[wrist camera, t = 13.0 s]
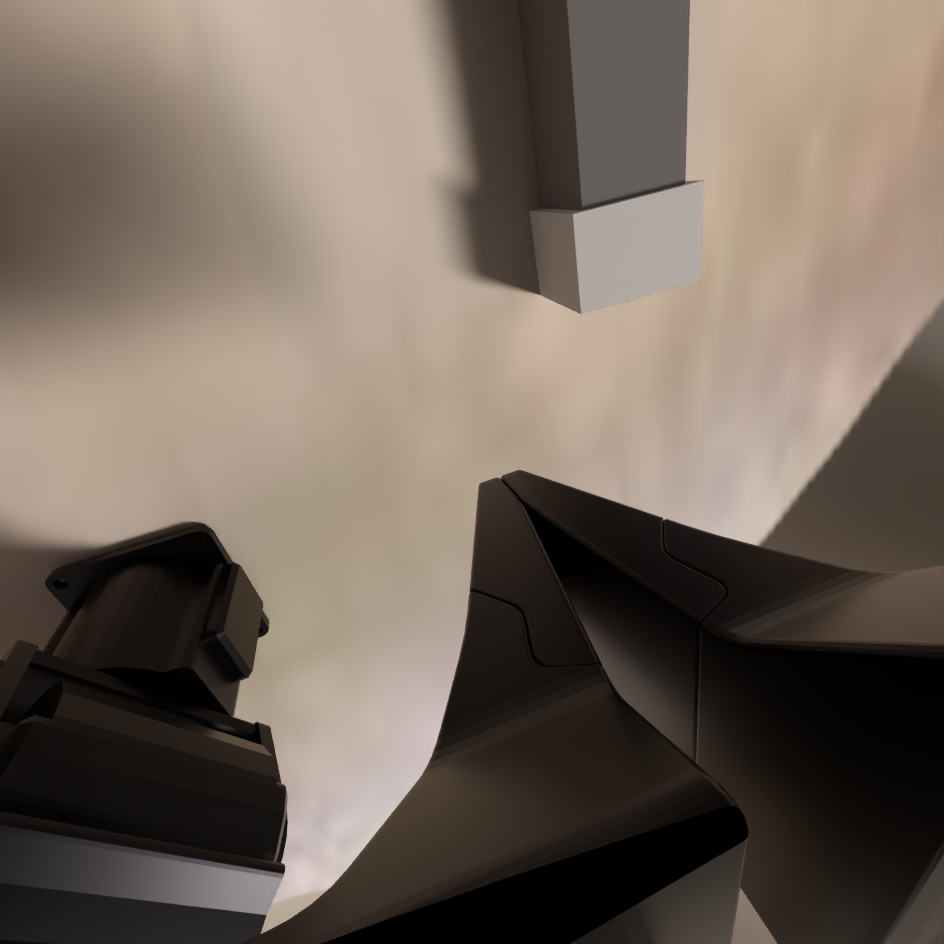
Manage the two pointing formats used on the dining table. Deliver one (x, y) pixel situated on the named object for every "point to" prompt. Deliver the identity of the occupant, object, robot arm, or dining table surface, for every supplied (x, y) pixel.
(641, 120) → the long grey plank
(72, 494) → the dining table surface
